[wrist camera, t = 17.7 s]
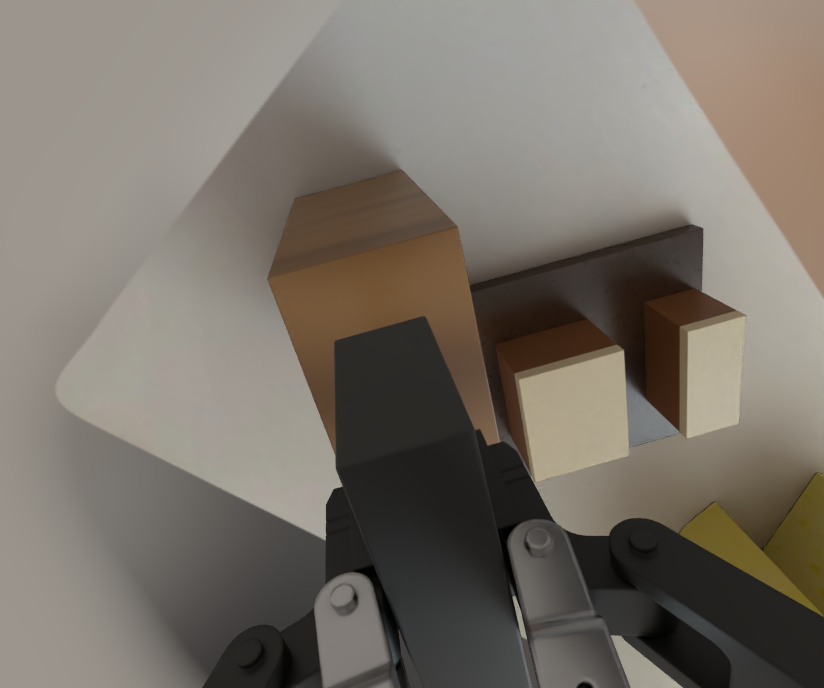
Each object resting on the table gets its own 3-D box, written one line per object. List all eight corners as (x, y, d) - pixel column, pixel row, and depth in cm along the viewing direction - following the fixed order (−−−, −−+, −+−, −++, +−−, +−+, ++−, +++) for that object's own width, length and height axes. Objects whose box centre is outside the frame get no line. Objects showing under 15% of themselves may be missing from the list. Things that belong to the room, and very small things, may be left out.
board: (455, 289, 42) (460, 295, 40) (691, 223, 42) (703, 228, 41) (494, 475, 51) (499, 485, 49) (688, 419, 51) (698, 428, 50)
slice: (643, 302, 43) (687, 331, 37) (694, 287, 43) (746, 315, 38) (646, 400, 47) (686, 439, 42) (692, 386, 47) (739, 424, 42)
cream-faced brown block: (494, 344, 43) (518, 379, 37) (587, 318, 43) (624, 349, 37) (511, 438, 47) (535, 482, 42) (595, 414, 47) (629, 455, 42)
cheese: (772, 438, 54) (918, 552, 40) (901, 516, 63) (1056, 631, 49) (610, 600, 62) (688, 740, 48) (746, 650, 70) (843, 780, 57)
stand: (294, 198, 37) (266, 278, 21) (402, 169, 37) (457, 226, 21) (342, 344, 42) (350, 496, 26) (437, 317, 42) (502, 453, 26)
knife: (332, 339, 13) (334, 467, 8) (425, 313, 13) (475, 427, 8) (480, 766, 23) (517, 931, 18) (533, 750, 23) (582, 911, 18)
